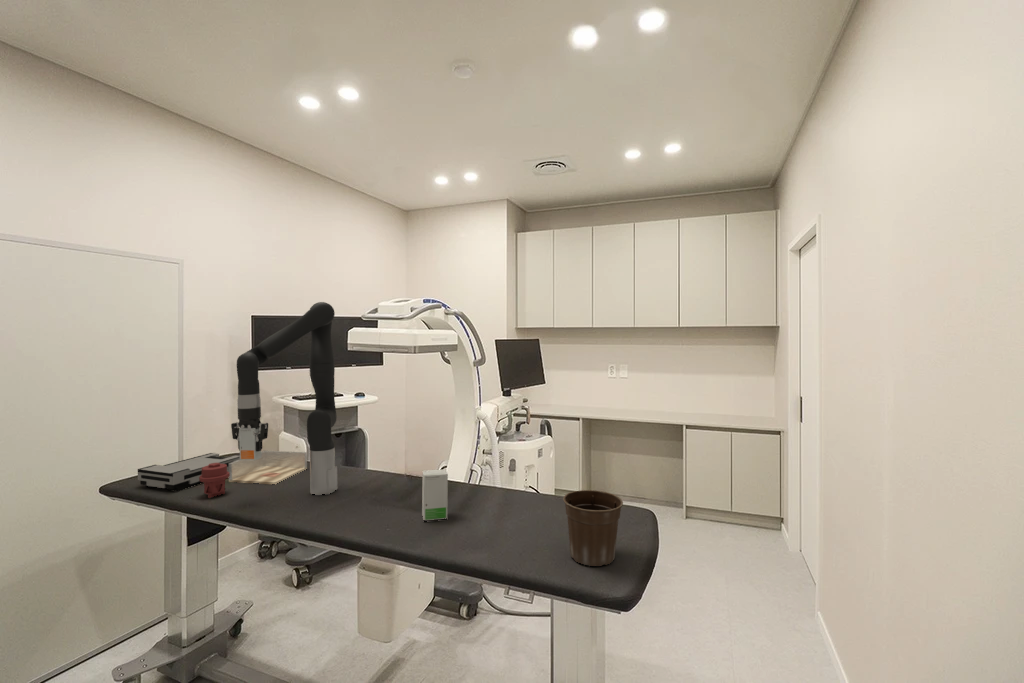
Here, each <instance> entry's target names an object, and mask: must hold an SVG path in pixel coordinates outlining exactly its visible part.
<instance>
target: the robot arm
mask: <svg viewBox="0 0 1024 683" xmlns="http://www.w3.org/2000/svg"><path fill="white" fill-rule="evenodd" d="M334 318H335V309H334V307H333V306H332V305H331V304H330V303H327V302H325V301H319V302H316V303H314V304H312V305H311V307H310V308H309V310H307V311H306V312H305V313H304V314H303V315H301V317H299V318H298V319H296V320H295V321H293V322H292V323H290V324H289V325H286V326H284V327H282V328H281V329H280V330H278V331H276V332H275V333H273V334H271V335H270V336H268V337H266V338H265V339H264V340H262V341H261V342H260V343H258V344H257V345H256V346H254V347H252V348H251V349H249V350H247V351H246V352H244V353H242V354H240V355H239V356H238V357H237V359H236V372H237V380H238V381H237V400H236V401H237V404H236V405H237V420H239V421H238V422H237V421H236V422H233V423H231V424H230V428H231V434H232V439H233V440H235V441H237V448H238V451H239V452H240V447H239V428H248V429H252V428H256V429H257V428H258V429H259V427H260V429H261V431H260V430H259V432H258V433H254V431H253V435H255V440H256V441H257V442H256V451H257V452H258V451H261V452H262V449H263V441H264V440H266V439H268V436H269V435H268V433H269V423H268V422H265V423H264V422H261V418H262V407H261V406H262V404H261V400H262V399H261V393H260V391H261V389H260V381H259V367H260V366H261V365H263V364H264V363H265V362H267V361H268V360H270V359H272V358H273V357H276V356H277V355H279V354H280V353H281V352H283V351H285V350H286V349H288V348H290V346H292V345H293V344H294V343H296V342H297V341H298V340H300V339H301V338H302V337H304V336H305V335H307V334H309V333H311V339H310V340H311V341H310V349H309V351H310V352H309V376H310V377H309V378H310V381H311V384H312V387H313V390H314V394H315V408H314V410H313V411H311V412H310V413H309V414H308V416H307V420H306V434H307V437H306V438H307V439H306V440H307V443H308V445H309V484H310V485H309V486H310V487H309V488H310V489H309V490H310V491H309V492H310V495H312V494H315V495H314V496H323V495H322V494H325V495H331V494H332V493H334V492H336V491H337V490H338V466H337V465H336V460H335V459H336V456H335V454H336V449H335V446H336V445H335V443H336V442H335V440H334V439H333V436H332V435H333V434H332V428H333V426H335V424H336V422H337V418H338V417H337V408H336V401H335V400H336V399H335V369H336V367H335V365H336V364H335V352H334V348H333V343H332V322H333V320H334ZM258 435H259V437H258ZM335 490H336V491H335ZM330 493H331V494H330Z"/></svg>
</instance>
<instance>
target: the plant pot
mask: <svg viewBox="0 0 1024 683" xmlns="http://www.w3.org/2000/svg"><path fill="white" fill-rule="evenodd" d="M562 500H563V502H564V504H565V505H564V506H565V513H566V515H567V516H566V517H567V528H568V540H569V554H570V558H571V559H573V560H574V562H576V563H577V562H578V563H577V564H579V563H581V564H580V565H582V564H585V565H590V566H601V567H602V566H603V565H605V566H608V565H607V564H609V565H611V564H612V563H613V562H614V561H613V560H615V556H616V547H617V546H616V545H617V539H618V538H617V536H618V535H617V534H618V529H619V528H618V525H619V519H620V518H621V511H622V507H623V505H624V501H623V499H622V498H621V497H620V496H618V495H615V494H613V493H610V492H607V491H602V490H595V489H579V490H575V491H571V492H568V493H566V494H565V495H564V496H563V498H562ZM612 561H613V562H612ZM611 562H612V563H611ZM610 563H611V564H610ZM585 565H584V566H585ZM590 566H589V567H590Z"/></svg>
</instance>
